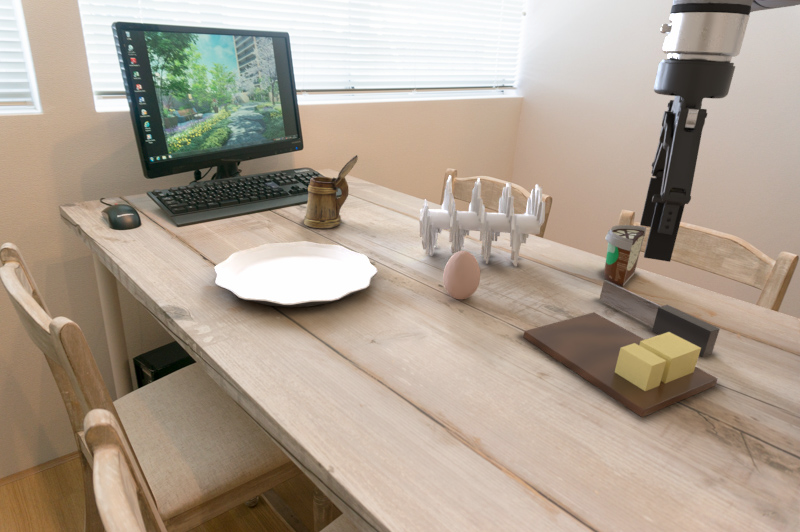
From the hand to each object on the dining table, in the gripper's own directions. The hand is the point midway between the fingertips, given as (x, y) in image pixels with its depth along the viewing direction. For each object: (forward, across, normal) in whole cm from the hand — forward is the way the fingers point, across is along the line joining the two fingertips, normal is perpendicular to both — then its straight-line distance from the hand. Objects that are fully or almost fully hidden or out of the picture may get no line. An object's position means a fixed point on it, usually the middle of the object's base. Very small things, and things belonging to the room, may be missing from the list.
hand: (653, 241), depth 66 cm
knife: (+21, -21, +5) cm, 30 cm away
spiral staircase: (+21, -37, -30) cm, 52 cm away
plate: (+21, -9, -57) cm, 62 cm away
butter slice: (+20, 0, +2) cm, 20 cm away
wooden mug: (+21, -42, -68) cm, 83 cm away
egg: (+21, -16, -28) cm, 38 cm away
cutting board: (+21, -6, -1) cm, 22 cm away
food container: (+21, -42, -1) cm, 47 cm away
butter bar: (+20, -4, +6) cm, 21 cm away
